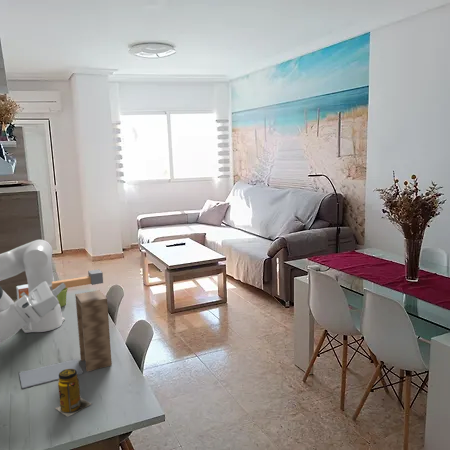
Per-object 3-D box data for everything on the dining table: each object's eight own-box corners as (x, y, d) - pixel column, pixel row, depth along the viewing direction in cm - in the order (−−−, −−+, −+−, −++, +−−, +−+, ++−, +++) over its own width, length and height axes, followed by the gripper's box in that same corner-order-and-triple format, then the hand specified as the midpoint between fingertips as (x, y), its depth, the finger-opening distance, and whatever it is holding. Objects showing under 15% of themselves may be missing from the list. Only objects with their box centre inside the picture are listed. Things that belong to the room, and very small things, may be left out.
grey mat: (22, 388, 149) (21, 387, 149) (19, 373, 160) (18, 372, 160) (82, 373, 159) (82, 372, 159) (76, 359, 169) (76, 358, 169)
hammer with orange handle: (53, 291, 153) (52, 280, 152) (51, 287, 157) (50, 276, 157) (103, 283, 161) (102, 272, 160) (99, 279, 166) (99, 269, 165)
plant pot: (51, 310, 222) (49, 293, 220) (48, 304, 230) (47, 288, 229) (70, 306, 226) (69, 290, 225) (67, 301, 234) (66, 285, 233)
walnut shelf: (86, 371, 160) (81, 303, 155) (80, 359, 170) (75, 294, 165) (111, 365, 164) (107, 298, 160) (104, 353, 174) (99, 290, 169)
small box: (20, 314, 216) (17, 289, 214) (18, 310, 221) (15, 285, 219) (38, 311, 221) (35, 286, 218) (35, 307, 226) (33, 282, 224)
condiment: (55, 408, 138) (51, 373, 136) (79, 396, 144) (76, 362, 142) (67, 417, 133) (64, 380, 131) (92, 404, 140) (89, 369, 137)
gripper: (31, 305, 162) (63, 282, 167) (38, 324, 145) (74, 297, 149) (20, 292, 160) (53, 269, 164) (25, 310, 142) (63, 283, 147)
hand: (63, 282), depth 157 cm, fingers closed on hammer with orange handle, 2 cm apart
